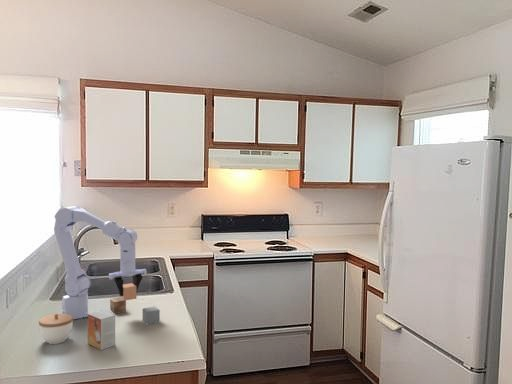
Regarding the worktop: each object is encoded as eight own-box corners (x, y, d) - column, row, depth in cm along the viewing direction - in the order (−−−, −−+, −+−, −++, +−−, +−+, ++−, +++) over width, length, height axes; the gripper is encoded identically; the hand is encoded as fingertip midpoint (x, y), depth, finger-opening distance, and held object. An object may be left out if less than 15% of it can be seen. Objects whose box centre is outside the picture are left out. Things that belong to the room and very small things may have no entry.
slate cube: (147, 324, 166) (147, 312, 166) (142, 321, 170) (142, 308, 170) (159, 322, 169) (159, 309, 168) (154, 318, 173) (154, 306, 172)
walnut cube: (113, 314, 178) (113, 302, 177) (110, 310, 182) (110, 298, 181) (126, 311, 180) (125, 300, 180) (122, 308, 184) (122, 297, 184)
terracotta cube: (123, 300, 169) (123, 288, 169) (119, 297, 173) (119, 285, 173) (136, 298, 172) (136, 286, 172) (132, 295, 176) (132, 283, 176)
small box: (87, 344, 147) (87, 313, 147) (102, 339, 152) (101, 309, 151) (100, 350, 142) (100, 319, 142) (115, 345, 147) (115, 314, 146)
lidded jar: (63, 332, 158) (63, 306, 157) (79, 340, 151) (78, 313, 150) (33, 341, 149) (33, 314, 149) (48, 349, 143) (47, 321, 142)
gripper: (112, 264, 165) (112, 300, 165) (149, 260, 173) (149, 294, 174) (107, 261, 170) (107, 295, 171) (143, 257, 179) (143, 289, 179)
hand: (128, 294), depth 173 cm, fingers closed on terracotta cube, 5 cm apart
